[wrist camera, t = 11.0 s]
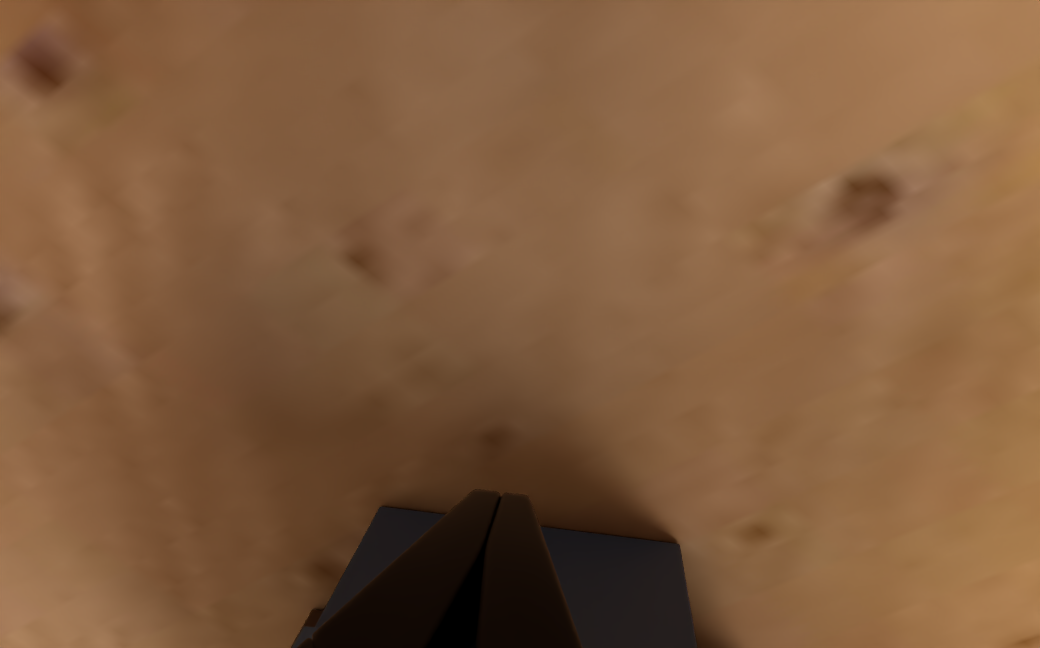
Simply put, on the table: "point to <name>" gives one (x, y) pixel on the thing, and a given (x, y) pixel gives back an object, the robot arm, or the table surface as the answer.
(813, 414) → the table surface
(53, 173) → the table surface
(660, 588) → the storage box
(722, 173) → the table surface
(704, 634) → the table surface
